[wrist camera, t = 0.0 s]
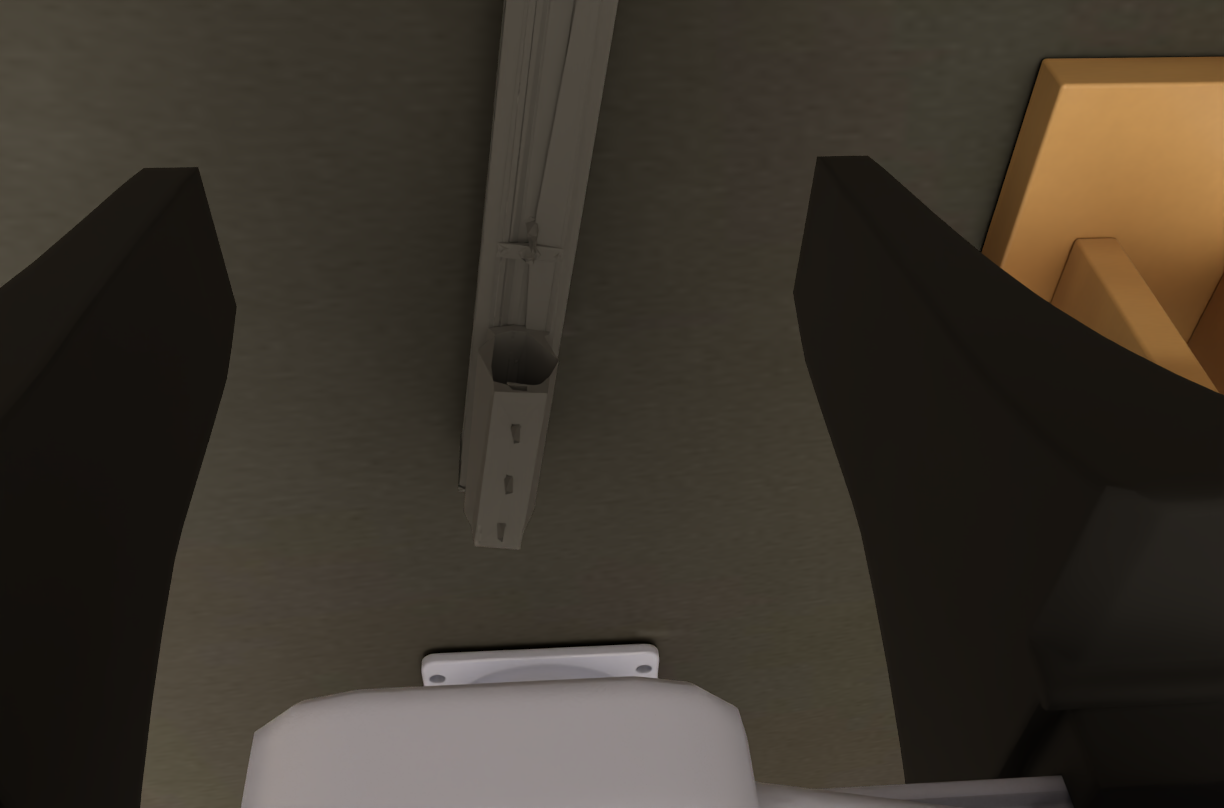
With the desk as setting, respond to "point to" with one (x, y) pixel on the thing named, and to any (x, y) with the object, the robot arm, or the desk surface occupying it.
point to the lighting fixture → (528, 250)
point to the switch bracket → (1124, 205)
